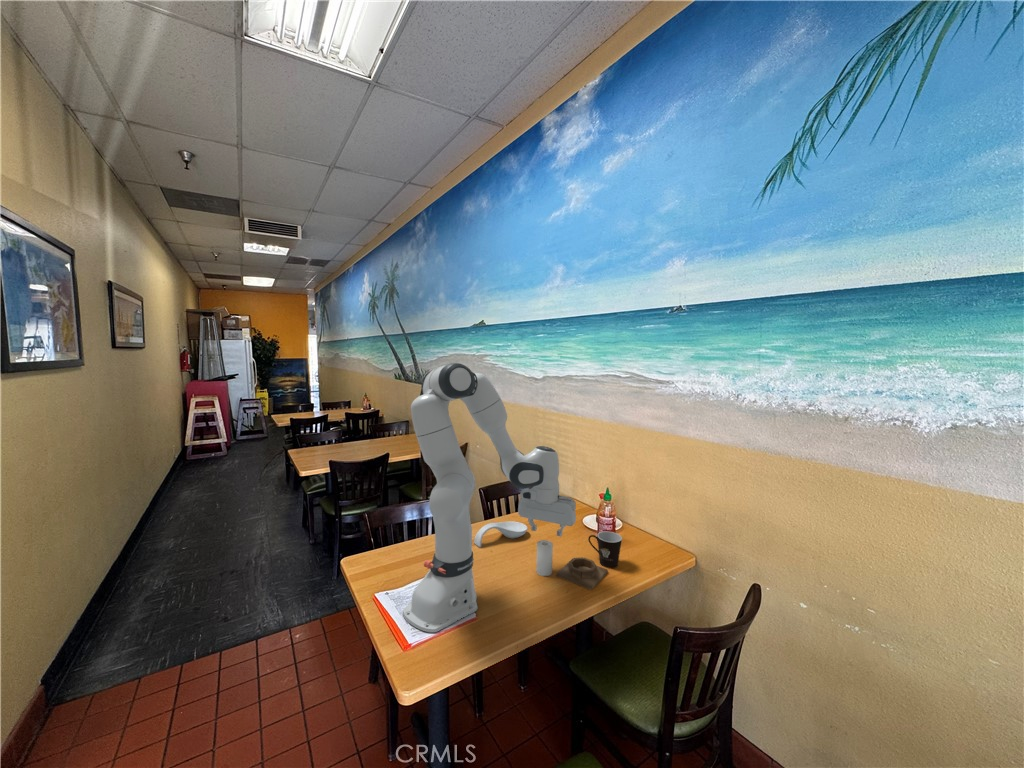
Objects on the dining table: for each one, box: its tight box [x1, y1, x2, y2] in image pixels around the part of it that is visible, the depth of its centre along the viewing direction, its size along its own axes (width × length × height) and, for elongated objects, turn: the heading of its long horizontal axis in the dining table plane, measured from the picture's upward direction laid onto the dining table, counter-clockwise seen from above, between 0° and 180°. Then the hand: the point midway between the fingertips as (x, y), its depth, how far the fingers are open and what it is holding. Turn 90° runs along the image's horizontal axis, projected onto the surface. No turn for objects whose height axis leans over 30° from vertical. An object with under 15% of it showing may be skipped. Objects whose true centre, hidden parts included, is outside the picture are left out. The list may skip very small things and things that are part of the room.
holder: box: [555, 556, 609, 591], centre depth 132 cm, size 13×13×4 cm
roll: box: [536, 539, 554, 577], centre depth 133 cm, size 5×5×10 cm
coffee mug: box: [587, 530, 623, 569], centre depth 140 cm, size 12×9×10 cm
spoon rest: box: [473, 520, 529, 548], centre depth 157 cm, size 24×12×7 cm, turn 126°
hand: (546, 532), depth 132 cm, fingers open, 8 cm apart
